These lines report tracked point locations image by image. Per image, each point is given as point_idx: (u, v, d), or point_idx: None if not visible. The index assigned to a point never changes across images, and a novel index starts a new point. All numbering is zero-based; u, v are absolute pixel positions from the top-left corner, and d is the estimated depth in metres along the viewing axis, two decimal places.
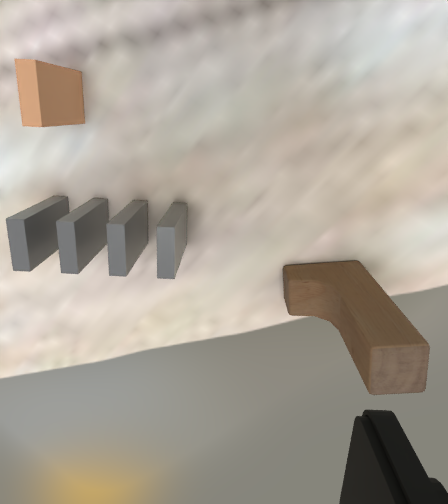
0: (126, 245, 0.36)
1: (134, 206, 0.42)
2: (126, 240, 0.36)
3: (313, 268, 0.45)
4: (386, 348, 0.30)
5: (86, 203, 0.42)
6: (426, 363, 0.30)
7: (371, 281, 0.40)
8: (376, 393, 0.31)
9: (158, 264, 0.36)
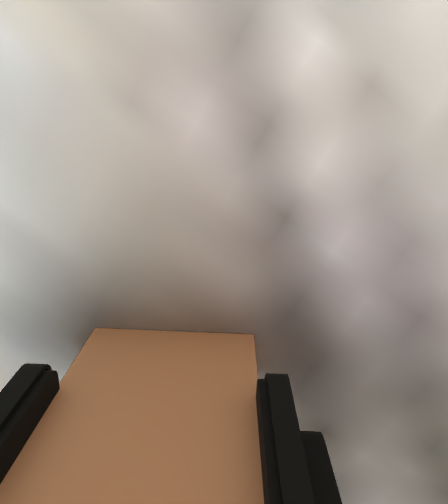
0: None
1: None
2: None
3: None
4: None
5: None
6: None
7: None
8: None
9: None
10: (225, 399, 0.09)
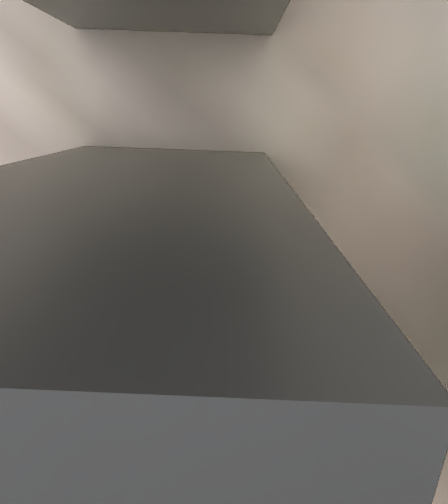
0: None
1: None
2: None
3: None
4: None
5: None
6: None
7: None
8: None
9: None
10: None
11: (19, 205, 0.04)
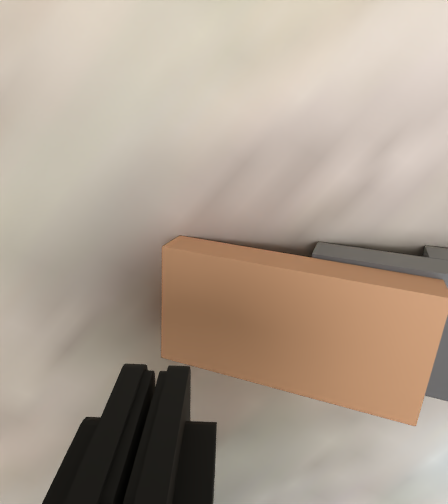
0: None
1: None
2: None
3: None
4: None
5: None
6: None
7: None
8: None
9: None
10: None
11: None
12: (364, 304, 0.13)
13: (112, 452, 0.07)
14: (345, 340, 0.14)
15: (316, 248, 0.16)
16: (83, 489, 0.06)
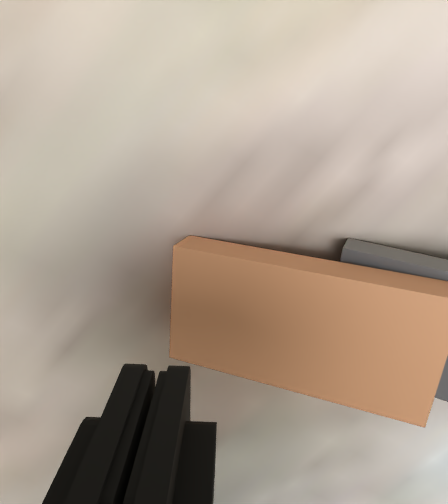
0: None
1: None
2: None
3: None
4: None
5: None
6: None
7: None
8: None
9: None
10: None
11: None
12: (376, 306, 0.13)
13: (112, 452, 0.07)
14: (356, 341, 0.14)
15: (347, 243, 0.16)
16: (83, 489, 0.06)
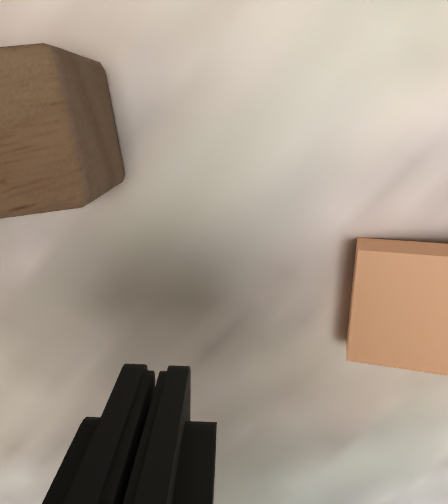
0: None
1: None
2: None
3: None
4: None
5: None
6: None
7: None
8: None
9: None
10: None
11: None
12: None
13: (112, 452, 0.07)
14: None
15: None
16: (83, 489, 0.06)
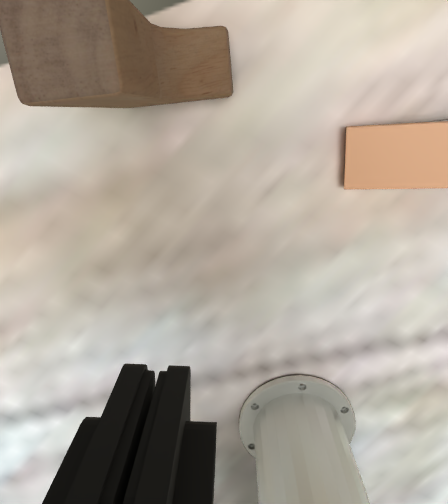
0: None
1: None
2: None
3: (191, 100, 0.31)
4: (95, 95, 0.16)
5: None
6: (11, 61, 0.16)
7: (112, 107, 0.27)
8: None
9: None
10: None
11: None
12: None
13: (111, 452, 0.07)
14: (441, 153, 0.31)
15: None
16: (83, 489, 0.06)
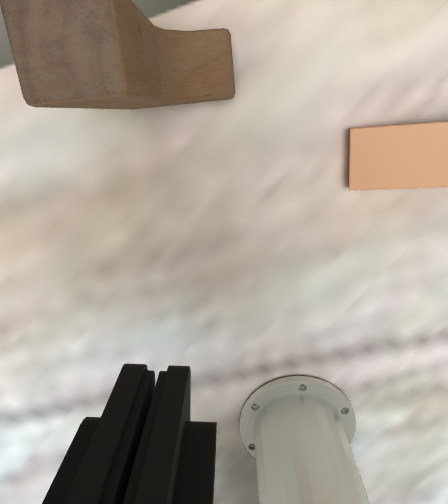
0: None
1: None
2: None
3: None
4: (99, 96, 0.16)
5: None
6: (17, 63, 0.16)
7: (115, 108, 0.27)
8: None
9: None
10: None
11: None
12: None
13: (112, 452, 0.07)
14: (446, 152, 0.31)
15: None
16: (83, 489, 0.06)
